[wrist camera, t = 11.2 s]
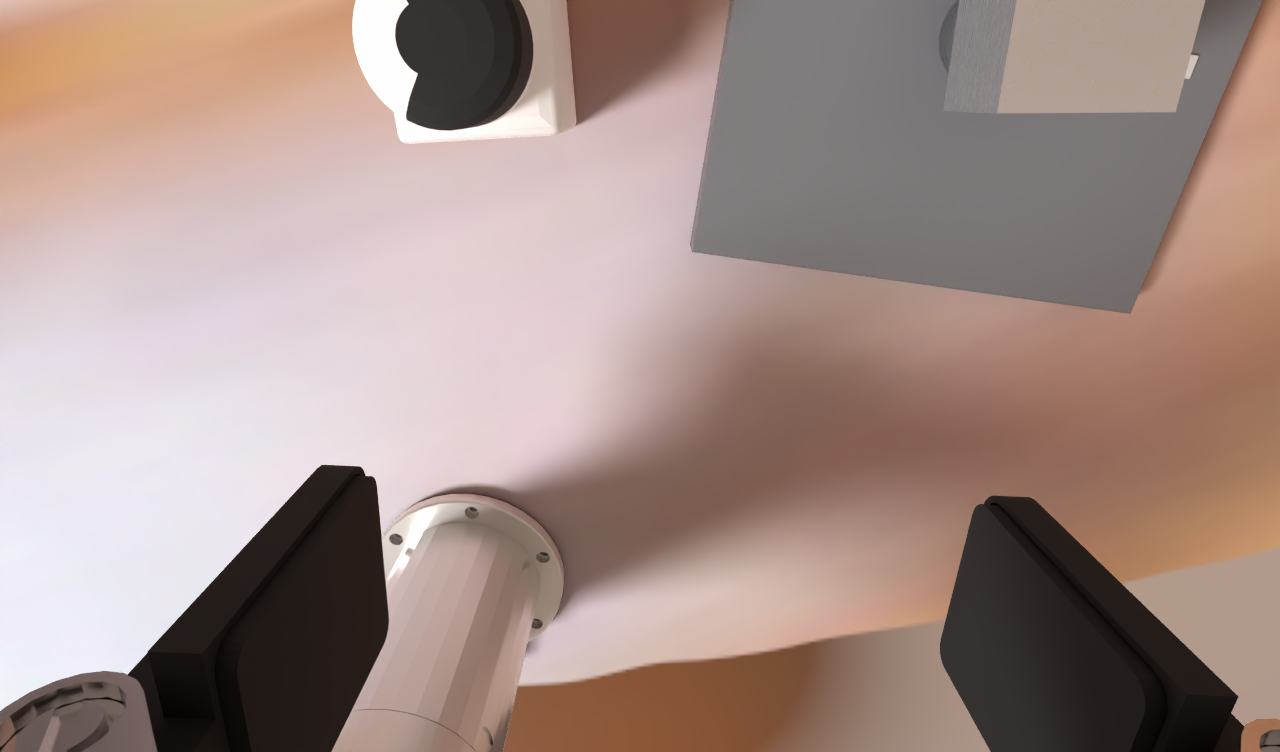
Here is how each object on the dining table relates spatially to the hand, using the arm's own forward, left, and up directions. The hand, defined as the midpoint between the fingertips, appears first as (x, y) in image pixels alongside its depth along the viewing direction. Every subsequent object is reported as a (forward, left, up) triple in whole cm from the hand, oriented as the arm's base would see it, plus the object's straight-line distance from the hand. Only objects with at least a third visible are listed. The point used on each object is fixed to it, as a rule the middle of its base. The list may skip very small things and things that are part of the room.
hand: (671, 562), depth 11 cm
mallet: (+14, -14, -23) cm, 30 cm away
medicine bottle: (+7, +9, -30) cm, 32 cm away
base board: (+11, -14, -29) cm, 34 cm away
